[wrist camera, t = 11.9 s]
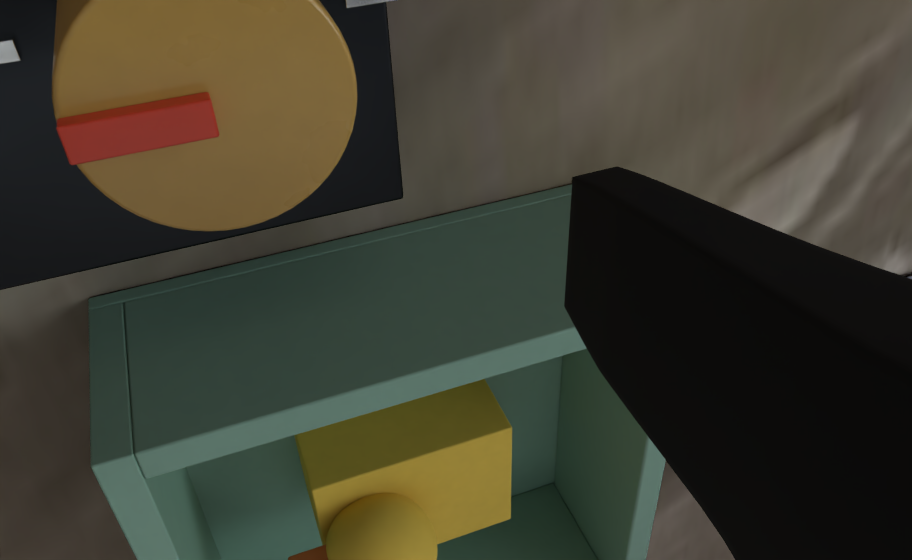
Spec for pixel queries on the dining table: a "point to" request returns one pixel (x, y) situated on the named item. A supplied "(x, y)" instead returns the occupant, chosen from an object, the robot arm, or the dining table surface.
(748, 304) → the robot arm
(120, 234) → the black dial box
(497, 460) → the toy duck
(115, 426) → the basin
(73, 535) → the dining table surface
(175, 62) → the tap knob
